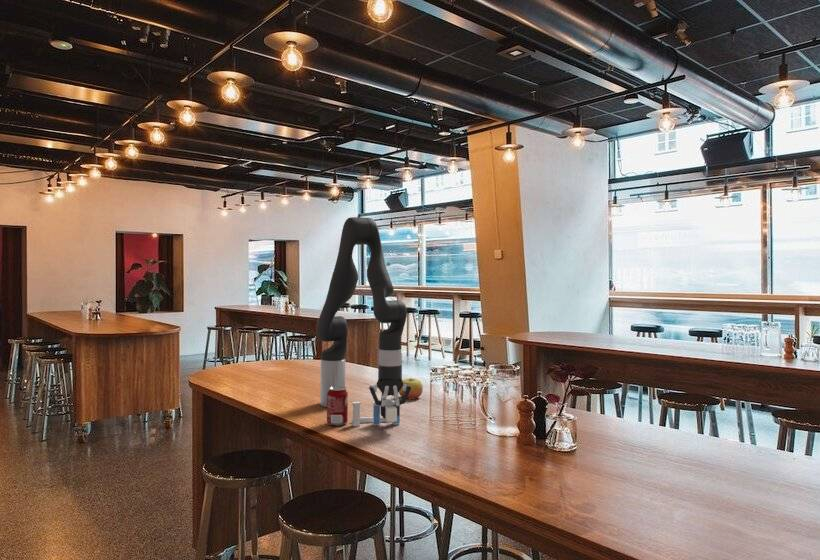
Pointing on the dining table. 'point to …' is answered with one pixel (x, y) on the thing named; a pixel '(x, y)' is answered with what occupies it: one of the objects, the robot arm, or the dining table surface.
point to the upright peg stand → (375, 419)
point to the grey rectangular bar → (390, 411)
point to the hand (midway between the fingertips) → (389, 417)
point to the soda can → (337, 406)
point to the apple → (412, 388)
